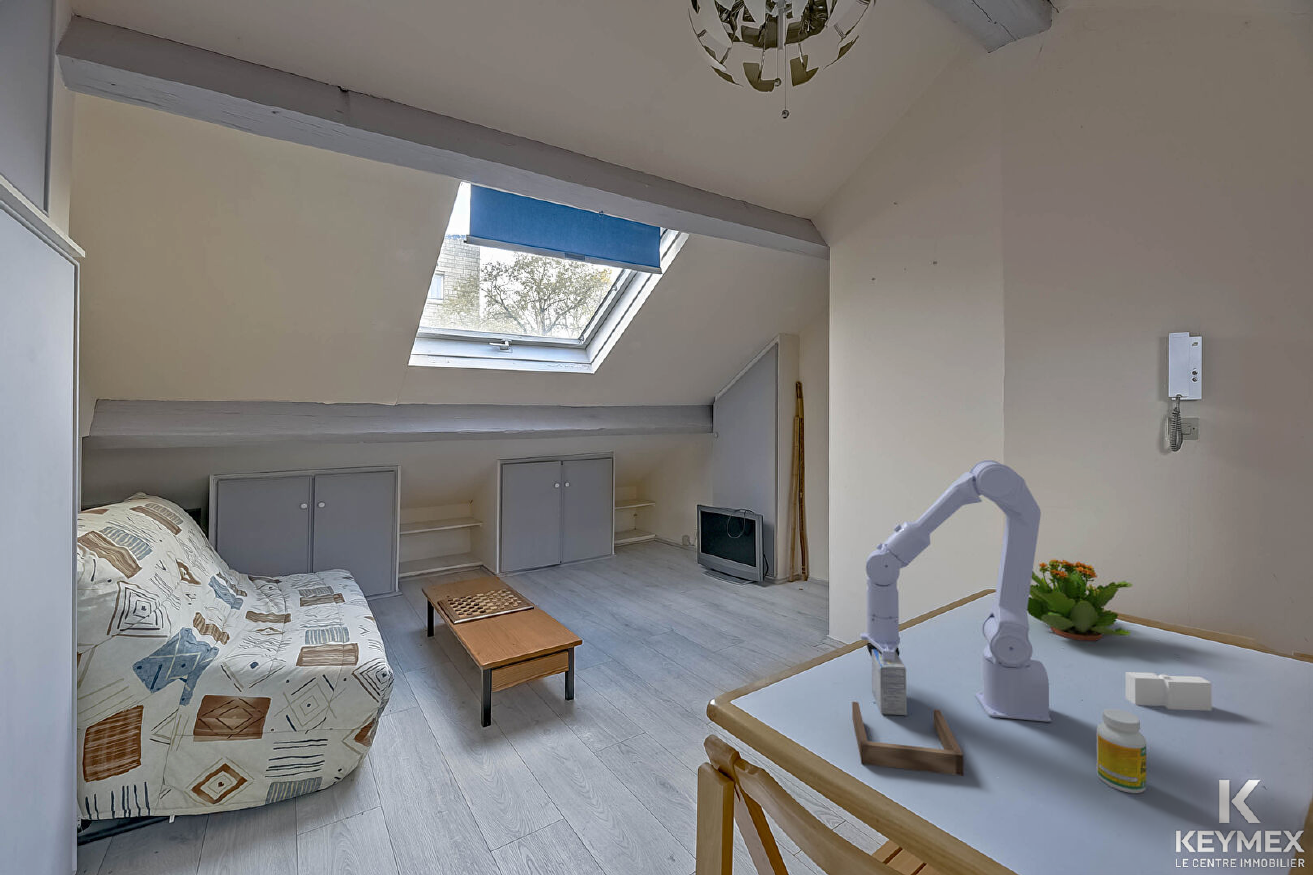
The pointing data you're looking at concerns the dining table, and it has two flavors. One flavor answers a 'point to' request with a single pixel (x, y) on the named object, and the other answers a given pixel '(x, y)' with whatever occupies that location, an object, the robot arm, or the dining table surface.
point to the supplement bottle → (1121, 751)
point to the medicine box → (889, 684)
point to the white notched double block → (1169, 691)
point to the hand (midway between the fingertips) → (882, 683)
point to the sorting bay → (911, 749)
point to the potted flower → (1073, 602)
